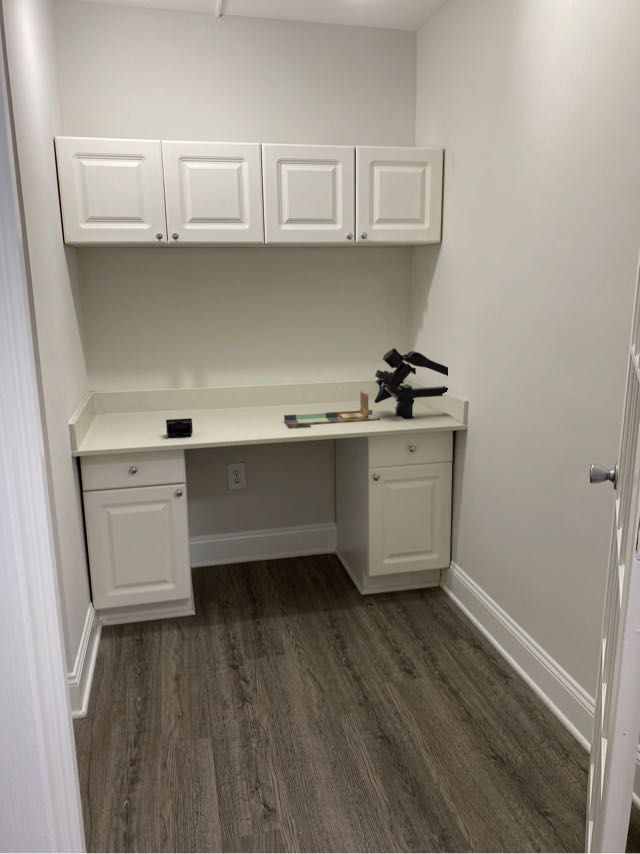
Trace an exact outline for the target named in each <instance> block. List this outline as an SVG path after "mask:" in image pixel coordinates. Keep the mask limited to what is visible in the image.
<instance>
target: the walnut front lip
mask: <svg viewBox="0 0 640 854" xmlns="http://www.w3.org/2000/svg"><path fill="white" fill-rule="evenodd" d="M374 421H381V417H376V418H367V419H352V420H337V421H321V422H306V423H291V424H289V428H288V429H301V428H302V429H304V428H312V425H313V426H314V425H330V424H345V423H358V422H361V423H362V422H374Z"/></svg>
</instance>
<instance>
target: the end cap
mask: <svg viewBox="0 0 640 854" xmlns="http://www.w3.org/2000/svg"><path fill="white" fill-rule="evenodd" d="M165 424H166V425H165V426H166V435H167V439H168V438H171V439H185V438H186V439H187V437H188V438H192V435H193V431H194V430H193V419H192V418H188V417H187V418H171V419H165Z"/></svg>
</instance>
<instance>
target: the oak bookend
mask: <svg viewBox="0 0 640 854" xmlns="http://www.w3.org/2000/svg"><path fill="white" fill-rule="evenodd" d="M359 397H360V402H359V403H360V405H359V406H360V409H359V410H360V413H350V414H339V418H340V419H341V420H352V419H367V418H368V410H369V393H367V392H366V391H365V390H361V391H360V396H359Z"/></svg>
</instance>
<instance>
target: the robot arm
mask: <svg viewBox="0 0 640 854" xmlns="http://www.w3.org/2000/svg"><path fill="white" fill-rule="evenodd" d="M382 361H384V362H385V363H386V364H387V365H388V366H389V367H390V368H391V369H394V368H395V370H393V371H391V372H390V371H387V370H383V371H382V370H380V369H377V370H376V372H375V377H376V378H378V379H377V380H375V383H376V384H377V385H378V388H379V390H378V393H377V395H376V397H375V399H374V404H378V403H381V402H383V401H384V400H385V401H386V400H388V399H390V398H392V397H393V398H394V399H395V401H396V406H395V416H396V417H400V418H402V419H403V420H405V419H406V420H407V419H414V418H415V417H414V416H413V408H414V407H413V405H414V403H415V399H416V398H432V397H434V398H435V397H444V396H443V395H442V394H443V393H445V392H447V390H448V388H447V387H445V385H443V386H433V387H432V386H431V387H430V386H429V387H427V386H426V387H413V386H412V385H409V384H408V383H407V384H404V383H405V382H404V381H405V380H406V378H407V377H408V376H409V375H410V374H413V375H416V374H417V369H416V367H419V368H425V369H429V370H432V371H434V372H437V373H439V374H441V375H444V376H446V375H447V376H448V366H447V365H443V364H441V363H439V362H436V361H434V360H431V359H429V358H428V357H426V356H425V355H424V354H422V353H420V352H417V351H414V350H410V351H409V352H407V353H406V354H401V353H400V352H398V350H397V349H396V348H391V350H389V351H387V352H386V353H385V354H384V356H382ZM411 365H412V366H415V367H412V366H411ZM447 376H446V377H447Z"/></svg>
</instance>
